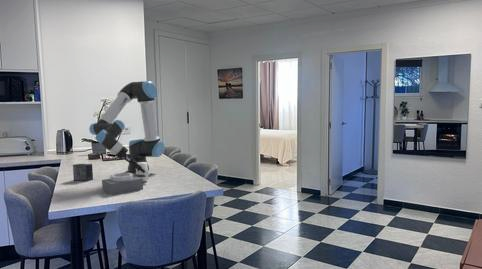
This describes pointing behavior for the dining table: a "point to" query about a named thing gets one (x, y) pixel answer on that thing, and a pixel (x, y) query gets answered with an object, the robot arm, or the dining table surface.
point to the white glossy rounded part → (141, 175)
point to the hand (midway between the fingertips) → (147, 174)
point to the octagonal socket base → (122, 183)
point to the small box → (82, 172)
